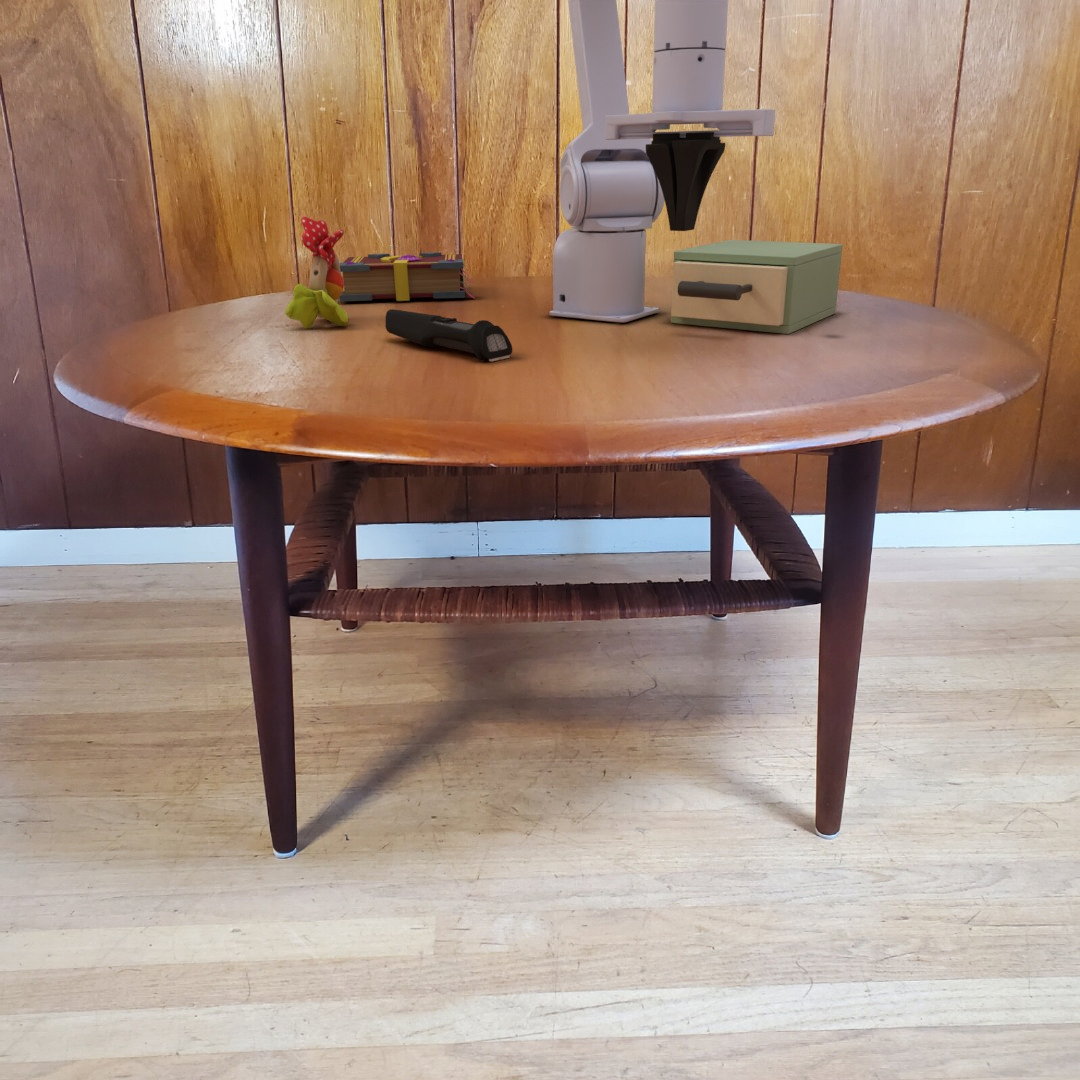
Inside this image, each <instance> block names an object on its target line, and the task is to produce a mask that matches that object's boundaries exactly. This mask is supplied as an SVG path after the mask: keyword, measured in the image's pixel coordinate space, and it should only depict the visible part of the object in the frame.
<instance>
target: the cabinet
mask: <svg viewBox="0 0 1080 1080" xmlns="http://www.w3.org/2000/svg"><path fill="white" fill-rule="evenodd" d="M843 247H844V245H843V244H842V243H826V242H825V243H822V242H800V241H799V242H798V241H797V242H796V241H775V240H774V241H773V240H772V241H771V240H770V241H769V240H750V239H749V240H748V239H728V240H727V239H726V240H723V241H717V242H713V243H708V244H702V245H698V246H692V247H688V248H683V249H679V250H675V251H673V261H672V264H673V263H674V262H677V261H687V262H693V261H711V262H730V263H749V264H767V265H786V266H787V267H788V272H787V284H786V296H785V307H784V319H783V324H782V325H779V326H773V325H762V324H751V323H740V322H729V321H718V320H707V319H696V318H685V317H674V316H671V317H670V323H671V324H679V325H687V326H688V325H690V326H698V327H710V328H719V329H731V330H741V331H750V332H751V331H752V332H760V333H761V332H762V333H772V334H784V335H789V334H792V333H794V332H796V331H799V330H800V329H801V330H802V329H803V328H806V327H807V326H810V325H812V324H815V323H816V322H819V321H821V320H823V319H826V318H828V317H830V316H832V315H835V314H836V313H837V312H836V311H837V303H838V292H839V285H840V284H839V283H840V274H841V264H842V257H843V256H842V255H843Z"/></svg>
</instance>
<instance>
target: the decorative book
mask: <svg viewBox="0 0 1080 1080" xmlns="http://www.w3.org/2000/svg"><path fill="white" fill-rule="evenodd" d="M339 264H340V273H342V278H343V283H344V286H343V292H342V294H341V296H340V297H339V302H353V303H355V302H364V301H365V302H366V301H373V300H377V299H378V300H379V299H395V300H396V302H404V301H411V298H433V299H453V300H454V299H464V298H466V293H467V295H468V296H470V298H472V299H473V300H475V296H473V295H472V294H470V293H469V292H468V290H467V289H469V286H468V285H467V284H466V282H465V281H464V279H465V280H467V281H468V282H469V283H471V284H472V285H474V282H473V281H471V280H470V279H469V277H468V273H467V272H466V271H468V269H467V267H466V265H465V264H464V258H463V253H451V254H442V252H440V251H433V252H432V251H431V252H430V251H429V252H428V251H427V252H419V254H415V255H413V254H404V255H391V254H390V253H371V254H367V256H348V257H346V259H345V260H344V261H343V262H342V261H341V262H340V261H339ZM464 269H465V270H466V271H464ZM464 286H465V287H464ZM466 288H467V289H466Z"/></svg>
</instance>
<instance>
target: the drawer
mask: <svg viewBox="0 0 1080 1080" xmlns="http://www.w3.org/2000/svg"><path fill="white" fill-rule="evenodd" d="M742 264H749V263H730V262H711V261H693V262H687V261H677V262H674V263H673V262H672V284H671V285H672V287H671V288H672V289H671V314H670V315H671V316H674V317H685V318H696V319H707V320H718V321H729V322H740V323H751V324H762V325H773V326H779V325H782V324H783V319H784V307H785V296H786V284H787V272H788V267H787V266H786V265H767V264H760V265H742ZM761 265H766V266H761Z"/></svg>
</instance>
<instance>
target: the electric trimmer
mask: <svg viewBox="0 0 1080 1080" xmlns="http://www.w3.org/2000/svg"><path fill="white" fill-rule="evenodd" d="M384 324H385V325H384V326H385V329H386V331H387V332H388V333H389V334H392V335H394V336H397V337H398V338H399V337H400V338H402V339H404V340H407V341H410V342H413V343H416V344H418V345H422V346H424V347H428V348H438V347H445V348H449V349H453V350H458V351H460V352H461V351H462V352H466V353H471V354H475V356H476V358H477V359H478V360H479V361H482V362H486V361H489V362H494V361H495V362H496V361H499V360H504V359H505V360H506V359H508V358H509V359H510V356H511V355H512V354H513V346H512V342H511V341H510V338H509V337H508V335H507V334H506V333H505V331H504V329H502V328H501V326H499V325H494V323H492V322H491V321H489V320H485V319H483V320H482V319H481V320H478V321H476V322H474V323H469V322H463V321H458V320H457V318H456V317H453V318H451V317H445V316H441V315H436V314H428V313H421V312H414V311H408V310H403V309H402V310H401V309H395V308H394V309H393V308H390V309H388V310H387V311H386V313H385V323H384Z"/></svg>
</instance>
